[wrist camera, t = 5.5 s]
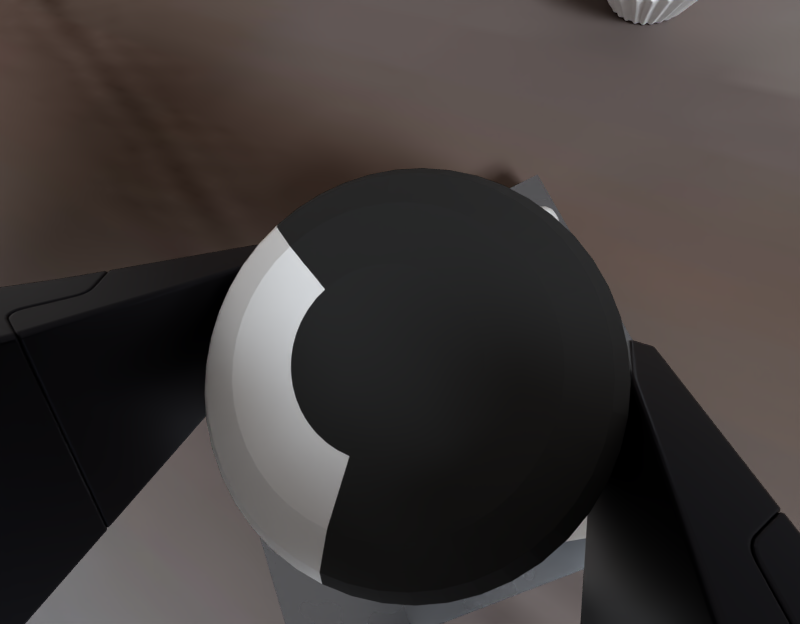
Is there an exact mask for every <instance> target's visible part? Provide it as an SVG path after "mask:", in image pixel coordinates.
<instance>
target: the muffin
mask: <svg viewBox="0 0 800 624" xmlns="http://www.w3.org/2000/svg"><path fill="white" fill-rule="evenodd" d="M607 1H608V3H609V5H610V6H611V8H612V10H613V12H615V13H617V14H618V16H619V17H624V20H625V21H628V20H630V21H632V22H633V23H634V24H636V23H641V24H642V25H644V24H646V23H648V24H650V25H652V24H653V23H655V22H656V23H661V22H662V21H663V20H666V21H667V20H669V19H671V18H672V17H675V16H677V15H679V14H680V13H681V12H683V11H684V10H685V9H687V8H688V7H689V6H691V5H692V4H694V3H695V2H696V1H698V0H607Z"/></svg>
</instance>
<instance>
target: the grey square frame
mask: <svg viewBox="0 0 800 624" xmlns="http://www.w3.org/2000/svg"><path fill="white" fill-rule="evenodd" d="M510 189H512V190H514V191H516V192H517V193H519V194H521V195H523V196H525V197H527V198H529V199H530V200H532V201H533V202H535V203H536V204H537V205H539V206H540V207H542V206H546V207H548V208H551V209H552V210H553V211H554V212H555V214H556V215H557V217H558V220H559V222H560V223H561V224H562V225H563V226H564V227H565V228H567V229H568V227H567V225H566V223H565V222H564V220H563V218H562V217H561V215H560V213H559V211H558V210H557V208H556V206H555V204H554V203H553V201H552V199H551V197H550V196H549V194H548V192H547V190H546V189H545V187H544V185H543V183H542V182H541V180H540V178H539V176H538V175H536V176H534V177H532V178H530V179H528V180H526V181H524V182H522V183H520V184H517V185H515V186H513V187H511V188H510ZM568 230H569V229H568ZM569 231H570V230H569ZM622 325H623V323H622ZM623 329H624V333H625V338H626V342H627V341H629V340H632V338H631V337H630V335H629V333H628V331H627V330H626V328H625V326H624V325H623ZM260 539H261V543H262V546H263V549H264V553H265V556H266V560H267V563H268V566H269V570H270V573H271V577H272V580H273V584H274V587H275V590H276V594H277V597H278V601H279V604H280V607H281V611H282V614H283V618H284V621H285V624H442V623H444V622H447V621H449V620H452V619H455V618H457V617H460V616H462V615H465V614H468V613H470V612H473V611H475V610H478V609H481V608H483V607H486V606H488V605H491V604H494V603H496V602H499V601H501V600H504V599H507V598H509V597H512V596H514V595H517V594H520V593H522V592H525V591H528V590H530V589H533V588H535V587H538V586H541V585H543V584H546V583H548V582H551V581H554V580H556V579H559V578H561V577H564V576H567V575H569V574H572V573H574V572H577V571H580V570H582V569H584V560H585V544H586V538H584V539H578V540H573V541H567V542H564V543H563V544H562V545H561V546H560V547H559V548H558V549H556V550H555V551H554V552H553V553H552V554H551V555H550V556H548V557H547V558H546V559H545V560H544V561H543V562H542V563H540V564H539V565H537V566H535V567H534V568H532V569H531V570H529V571H528V572H526V573H524V574H523V575H521V576H520V577H518V578H517V579H515V580H513V581H512V582H509V583H507V584H505V585H502V586H500V587H498V588H495V589H493V590H491V591H488V592H486V593H484V594H481V595H477V596H474V597H470V598H466V599H462V600H458V601H454V602H450V603H441V604H429V605H418V606H412V605H399V604H385V603H379V602H375V601H370V600H366V599H362V598H358V597H353V596H350V595H348V594H345V593H343V592H340V591H338V590H335V589H333V588H330V587H328V586H325V585H323V584H321V583H319V582H318V581H316V580H314V579H313V578H311V577H309V576H307V575H306V574H304V573H302V572H301V571H299V570H297V569H296V568H294V567H293V566H292V565H291V564H289V563H288V562H287V561H286V560H285V559H283V558H282V557H281V556H280V555H278V554H277V553H276V552H275V551H274V550H272V549H271V548H270V547H269V545H268V544H267V543H266V542H265V541H264V540H263V539H262V538H261V537H260Z"/></svg>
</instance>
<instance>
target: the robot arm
mask: <svg viewBox="0 0 800 624" xmlns="http://www.w3.org/2000/svg"><path fill="white" fill-rule="evenodd" d="M257 246H258V245H252V246H246V247H241V248H235V249H229V250H223V251H218V252H212V253H206V254H201V255H195V256H189V257H183V258H178V259H172V260H166V261H160V262H155V263H149V264H143V265H138V266H132V267H126V268H120V269H115V270H110V271H109V272H106V271H103V272H97V273H91V274H86V275H80V276H73V277H67V278H61V279H55V280H48V281H41V282H34V283H27V284H20V285H13V286H5V287H0V624H25V623H26V622H27V621H28V620H29V619H30V618H31V616H32V615H33V614H34V613H35V612H36V611H37V610H38V608H39V607H40V606H41V605H42V604H43V603H44V601H45V600H46V599H47V598H48V597H49V596H50V595H51V593H52V592H53V591H54V590H55V589H56V588H57V587H58V585H59V584H60V583H61V582H62V581H63V580H64V579H65V577H66V576H67V575H68V574H69V573H70V572H71V571H72V569H73V568H74V567H75V566H76V565H77V564H78V562H79V561H80V560H81V559H82V558H83V557H84V556H85V554H86V553H87V552H88V551H89V550H90V549H91V548H92V546H93V545H94V544H95V543H96V542H97V541H98V540H99V538H100V537H101V536H102V535H103V534H104V533H105V532H106V530H107V527H109V526H110V525H111V524H112V523H113V522H114V521H115V520H116V519H117V517H118V516H119V515H120V514H121V513H122V512H123V510H124V509H125V508H126V507H127V506H128V505H129V504H130V502H131V501H132V500H133V499H134V498H135V497H136V496H137V494H138V493H139V492H140V491H141V490H142V489H143V488H144V486H145V485H146V484H147V483H148V482H149V481H150V480H151V478H152V477H153V476H154V475H155V474H156V473H157V472H158V470H159V469H160V468H161V467H162V466H163V465H164V463H165V462H166V461H167V460H168V459H169V458H170V457H171V455H172V454H173V453H174V452H175V451H176V450H177V449H178V447H179V446H180V445H181V444H182V443H183V442H184V441H185V439H186V438H187V437H188V436H189V435H190V434H191V433H192V431H193V430H194V429H195V428H196V427H197V426H198V425H199V423H200V422H201V421H202V420H203V419H204V418H205V416H206V406H205V375H206V363H207V357H208V351H209V345H210V340H211V336H212V333H213V329H214V326H215V323H216V319H217V316H218V313H219V310H220V308H221V306H222V304H223V301H224V299H225V297H226V294H227V292H228V290H229V288H230V286H231V284H232V283H233V281H234V279H235V278H236V276H237V274H238V272H239V271H240V269H241V267H242V266H243V264H244V263H245V262H246V260H247V259H248V258H249V256H250V255H251V254H252V252H253V251H254V250H255V248H256V247H257ZM627 346H628V354H629V367H630V380H631V385H630V399H629V413H628V420H627V424H626V428H625V433H624V437H623V441H622V446H621V450H620V453H619V455H618V458H617V460H616V463H615V465H614V468H613V470H612V473H611V475H610V478H609V480H608V483H607V484H606V486H605V488H604V489H603V491H602V493H601V495H600V496H599V498H598V500H597V501H596V503H595V505H594V506H593V508H592V510H591V512H590V513H589V514H588V515H587V528H586V544H585V560H584V576H583V592H582V609H581V624H800V533H799V531H798V530H797V529H796V527H795V526H794V525H793V524H792V522H791V521H790V520H789V518H788V517H787V516H786V515H785V514H784V513H779V512H780V507H779V506H778V505H777V503H776V502H775V501H774V500H773V498H772V497H771V496H770V494H769V493H768V492H767V491H766V489H765V488H764V487H763V485H762V484H761V483H760V482H759V480H758V479H757V478H756V477H755V475H754V474H753V473H752V471H751V470H750V469H749V468H748V466H747V465H746V464H745V462H744V461H743V460H742V459H741V457H740V456H739V455H738V453H737V452H736V451H735V450H734V448H733V447H732V446H731V444H730V443H729V442H728V441H727V439H726V438H725V437H724V436H723V434H722V433H721V432H720V430H719V429H718V428H717V427H716V425H715V424H714V423H713V421H712V420H711V419H710V418H709V416H708V415H707V414H706V412H705V411H704V410H703V409H702V407H701V406H700V405H699V404H698V402H697V401H696V400H695V398H694V397H693V396H692V395H691V393H690V392H689V391H688V389H687V388H686V387H685V386H684V384H683V383H682V382H681V380H680V379H679V378H678V377H677V375H676V374H675V373H674V371H673V370H672V369H671V368H670V366H669V365H668V364H667V363H666V361H665V360H664V359H663V357H662V356H661V355H660V354H659V352H658V351H657V350H656V349H655V348H654V347H653V346H651V345H647V344H644V343H640V342H637V341H633V340H629V341H627Z"/></svg>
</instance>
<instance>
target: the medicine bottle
mask: <svg viewBox="0 0 800 624" xmlns="http://www.w3.org/2000/svg"><path fill="white" fill-rule="evenodd" d="M630 385H631V380H630V367H629V354H628V346H627V342H626V338H625V333H624V329H623V325H622V320H621V317H620V314H619V311H618V309H617V306H616V304H615V301H614V299H613V296H612V294H611V291H610V289H609V286H608V285H607V283H606V281H605V279H604V278H603V276H602V274H601V273H600V271H599V269H598V267H597V266H596V264H595V262H594V260H593V259H592V258H591V256H590V255H589V254H588V253H587V251H586V250H585V249H584V248H583V246H582V245H581V244H580V242H579V241H578V240H577V239H576V237H575V236H574V235H573V234H572V233H571V232H570V231H569V230H568V229H567V228H565V227H564V226H563V225H562V224H561V223H560V222H559V220H558V217H557V215H556V214H555V212H554V211H553V210H552V209H551V208H548V207H546V206H542V207H540V206H539V205H537V204H536V203H535V202H533V201H532V200H530V199H529V198H527V197H525V196H523V195H521V194H519V193H517V192H516V191H514V190H512V189H510V188H508V187H506V186H504V185H501V184H499V183H496V182H493V181H490V180H487V179H484V178H482V177H479V176H475V175H471V174H466V173H461V172H456V171H451V170H440V169H426V168H418V169H401V170H392V171H387V172H382V173H376V174H371V175H367V176H364V177H361V178H358V179H355V180H352V181H349V182H346V183H343V184H341V185H339V186H337V187H335V188H332V189H330V190H328V191H326V192H324V193H322V194H320V195H318V196H317V197H315V198H313V199H312V200H310V201H309V202H307V203H305V204H304V205H302V206H301V207H299V208H298V209H296V210H295V211H294V212H293V213H291V214H290V215H289V216H288V217H286V218H285V219H284V220H283V221H282V222H280V223H279V224H278V225H277V226H276V227H275V228H274V229H273V230H272V231H271V232H270V233H269V234H268V235H267V236H266V237H265V238H264V239H263V240H262V241H261V242H260V243H259V244H258V246H257V247H256V248H255V250H254V251H253V252H252V254H251V255H250V256H249V258H248V259H247V260H246V262H245V263H244V264H243V266H242V267H241V269H240V271H239V272H238V274H237V276H236V278H235V279H234V281H233V283H232V284H231V286H230V288H229V290H228V292H227V294H226V297H225V299H224V301H223V304H222V306H221V308H220V310H219V313H218V316H217V319H216V323H215V326H214V329H213V333H212V336H211V340H210V345H209V351H208V357H207V363H206V375H205V406H206V420H207V426H208V430H209V435H210V440H211V445H212V450H213V453H214V456H215V458H216V461H217V464H218V467H219V470H220V473H221V476H222V478H223V480H224V482H225V484H226V486H227V488H228V490H229V492H230V494H231V496H232V498H233V500H234V502H235V504H236V505H237V507H238V508H239V509H240V511H241V512H242V514H243V515H244V517H245V518H246V520H247V521H248V523H249V524H250V525H251V527H252V528H253V529H254V530H255V531H256V532H257V533H258V535H259V536H260V537H261V538H262V539H263V540H264V541H265V542H266V543H267V544H268V545H269V547H270V548H271V549H272V550H274V551H275V552H276V553H277V554H278V555H280V556H281V557H282V558H283V559H285V560H286V561H287V562H288V563H289V564H291V565H292V566H293V567H294V568H296V569H297V570H299V571H301V572H302V573H304V574H306V575H307V576H309V577H311V578H313V579H314V580H316V581H318V582H319V583H321V584H323V585H325V586H328V587H330V588H333V589H335V590H338V591H340V592H343V593H345V594H348V595H350V596H353V597H358V598H362V599H366V600H370V601H375V602H379V603H385V604H399V605H412V606H418V605H429V604H441V603H450V602H454V601H458V600H462V599H466V598H470V597H474V596H477V595H481V594H484V593H486V592H488V591H491V590H493V589H495V588H498V587H500V586H502V585H505V584H507V583H509V582H512V581H513V580H515V579H517V578H518V577H520V576H521V575H523V574H524V573H526V572H528V571H529V570H531V569H532V568H534V567H535V566H537V565H539V564H540V563H542V562H543V561H544V560H545V559H546V558H547V557H548V556H550V555H551V554H552V553H553V552H554V551H555V550H556V549H558V548H559V547H560V546H561V545H562V544H563V543H564V542H567V541H573V540H578V539H584V538H586V528H587V515H588V514H589V513H590V512H591V510H592V508H593V506H594V505H595V503H596V501H597V500H598V498H599V496H600V495H601V493H602V491H603V489H604V488H605V486H606V484H607V483H608V480H609V478H610V475H611V473H612V470H613V468H614V465H615V463H616V460H617V458H618V455H619V453H620V450H621V446H622V441H623V437H624V433H625V428H626V424H627V420H628V413H629V399H630Z"/></svg>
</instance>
